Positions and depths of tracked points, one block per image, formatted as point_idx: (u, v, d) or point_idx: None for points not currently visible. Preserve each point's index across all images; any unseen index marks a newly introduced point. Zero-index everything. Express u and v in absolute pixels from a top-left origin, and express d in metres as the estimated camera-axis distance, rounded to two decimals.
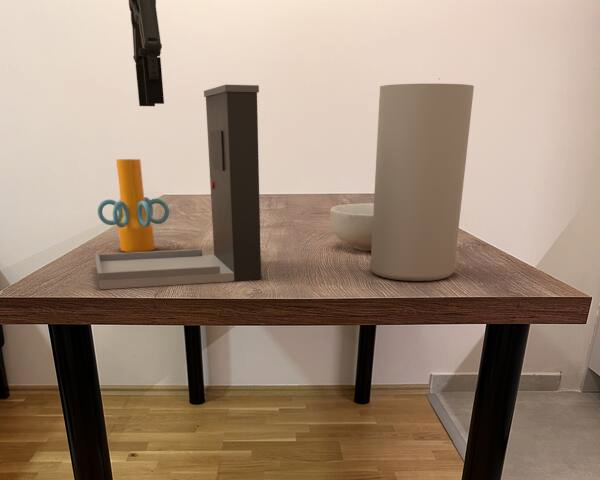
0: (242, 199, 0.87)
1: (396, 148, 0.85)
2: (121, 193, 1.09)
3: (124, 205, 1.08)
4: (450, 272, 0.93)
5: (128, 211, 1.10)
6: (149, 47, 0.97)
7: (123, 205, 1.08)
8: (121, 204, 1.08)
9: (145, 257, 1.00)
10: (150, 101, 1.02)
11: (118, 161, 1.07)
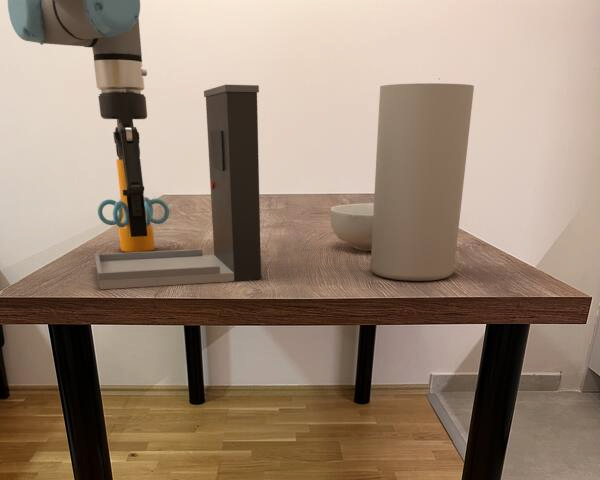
0: (242, 199, 0.87)
1: (396, 148, 0.85)
2: (121, 194, 1.09)
3: (124, 205, 1.08)
4: (450, 272, 0.93)
5: None
6: (132, 190, 1.02)
7: (123, 205, 1.08)
8: (121, 204, 1.08)
9: (145, 257, 1.00)
10: (134, 234, 1.07)
11: (118, 161, 1.07)
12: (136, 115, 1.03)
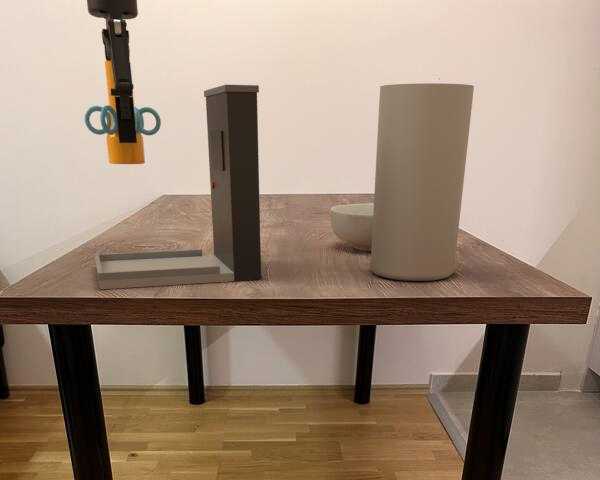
0: (242, 199, 0.87)
1: (396, 148, 0.85)
2: (109, 99, 1.03)
3: (113, 110, 1.02)
4: (450, 272, 0.93)
5: None
6: (120, 88, 0.95)
7: (111, 110, 1.02)
8: (109, 109, 1.01)
9: (145, 257, 1.00)
10: (122, 140, 1.01)
11: (107, 62, 1.00)
12: (126, 9, 0.97)
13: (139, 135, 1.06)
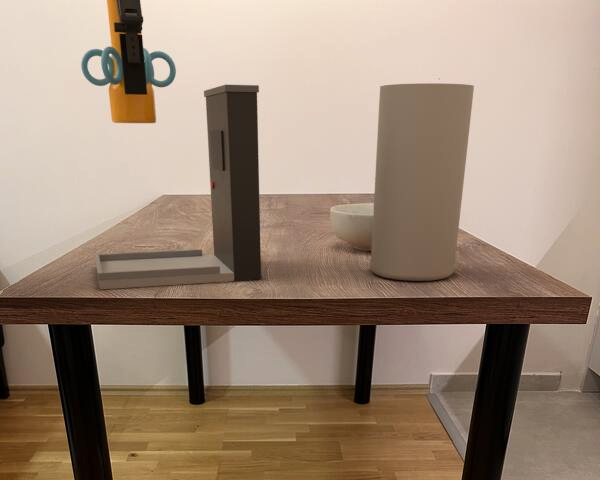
0: (242, 199, 0.87)
1: (396, 148, 0.85)
2: (112, 40, 0.82)
3: (116, 54, 0.81)
4: (450, 272, 0.93)
5: None
6: (127, 20, 0.75)
7: (115, 53, 0.81)
8: (112, 51, 0.81)
9: (145, 257, 1.00)
10: (129, 91, 0.80)
11: None
12: None
13: (149, 86, 0.85)
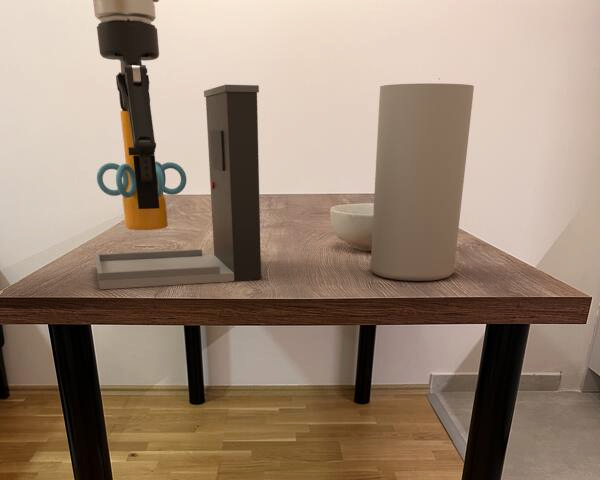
0: (242, 199, 0.87)
1: (396, 148, 0.85)
2: (126, 155, 0.87)
3: (130, 169, 0.86)
4: (450, 272, 0.93)
5: None
6: (141, 147, 0.79)
7: (129, 169, 0.85)
8: (127, 168, 0.85)
9: (145, 257, 1.00)
10: (142, 206, 0.85)
11: (123, 113, 0.84)
12: (145, 51, 0.80)
13: (161, 196, 0.89)
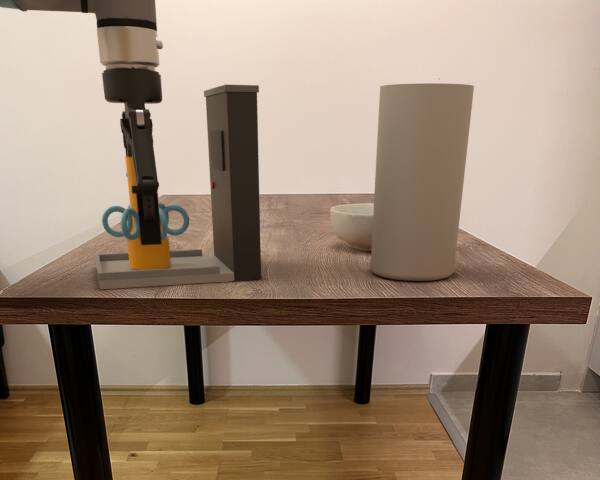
0: (242, 199, 0.87)
1: (396, 148, 0.85)
2: (130, 199, 0.89)
3: (135, 213, 0.88)
4: (450, 272, 0.93)
5: None
6: (144, 187, 0.80)
7: (134, 213, 0.88)
8: (131, 212, 0.87)
9: None
10: (145, 242, 0.86)
11: (128, 159, 0.87)
12: (149, 97, 0.82)
13: (165, 237, 0.92)
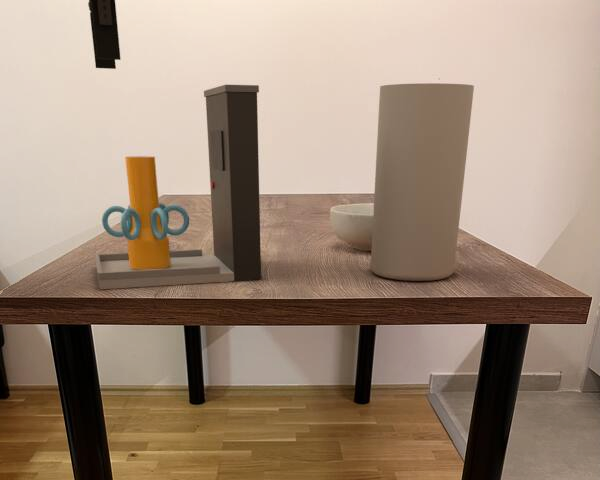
0: (242, 199, 0.87)
1: (396, 148, 0.85)
2: (131, 199, 0.89)
3: (135, 213, 0.88)
4: (450, 272, 0.93)
5: (139, 220, 0.89)
6: None
7: (134, 213, 0.88)
8: (131, 212, 0.87)
9: None
10: (102, 55, 0.77)
11: (128, 159, 0.87)
12: None
13: (165, 237, 0.92)
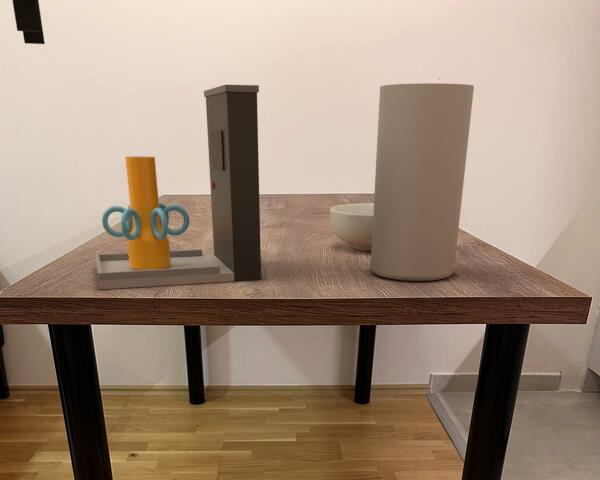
0: (242, 199, 0.87)
1: (396, 148, 0.85)
2: (131, 199, 0.89)
3: (135, 213, 0.88)
4: (450, 272, 0.93)
5: (139, 220, 0.89)
6: None
7: (134, 213, 0.88)
8: (131, 212, 0.87)
9: None
10: (21, 27, 0.79)
11: (128, 159, 0.87)
12: None
13: (165, 237, 0.92)
